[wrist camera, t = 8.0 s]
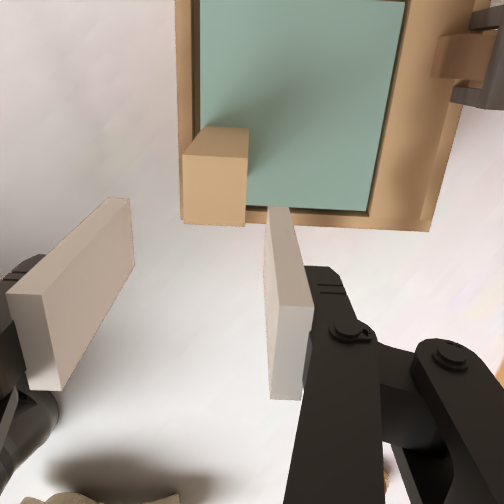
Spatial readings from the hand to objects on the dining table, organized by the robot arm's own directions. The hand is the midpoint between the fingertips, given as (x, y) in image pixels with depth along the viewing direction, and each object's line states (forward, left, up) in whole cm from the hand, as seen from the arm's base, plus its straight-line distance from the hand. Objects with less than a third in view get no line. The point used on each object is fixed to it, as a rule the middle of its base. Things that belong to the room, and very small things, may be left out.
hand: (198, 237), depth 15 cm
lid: (+5, +3, -17) cm, 18 cm away
